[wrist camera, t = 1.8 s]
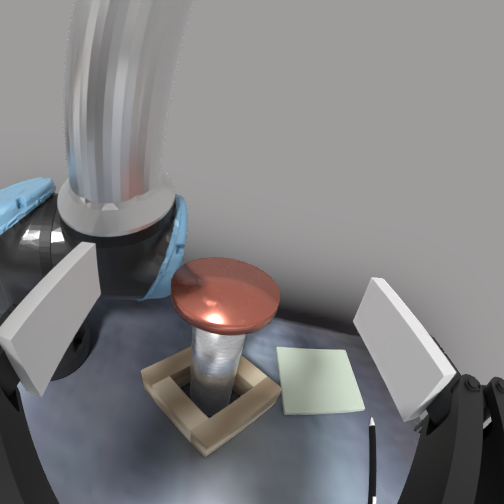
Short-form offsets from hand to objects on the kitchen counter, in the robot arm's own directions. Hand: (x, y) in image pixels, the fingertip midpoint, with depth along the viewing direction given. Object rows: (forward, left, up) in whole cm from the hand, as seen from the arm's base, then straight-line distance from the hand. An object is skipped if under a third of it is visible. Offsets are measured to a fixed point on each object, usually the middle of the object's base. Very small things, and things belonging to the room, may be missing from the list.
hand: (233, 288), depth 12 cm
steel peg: (-6, +6, -24) cm, 25 cm away
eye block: (-6, +6, -24) cm, 25 cm away
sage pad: (+2, +20, -24) cm, 31 cm away
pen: (+17, +12, -25) cm, 32 cm away
